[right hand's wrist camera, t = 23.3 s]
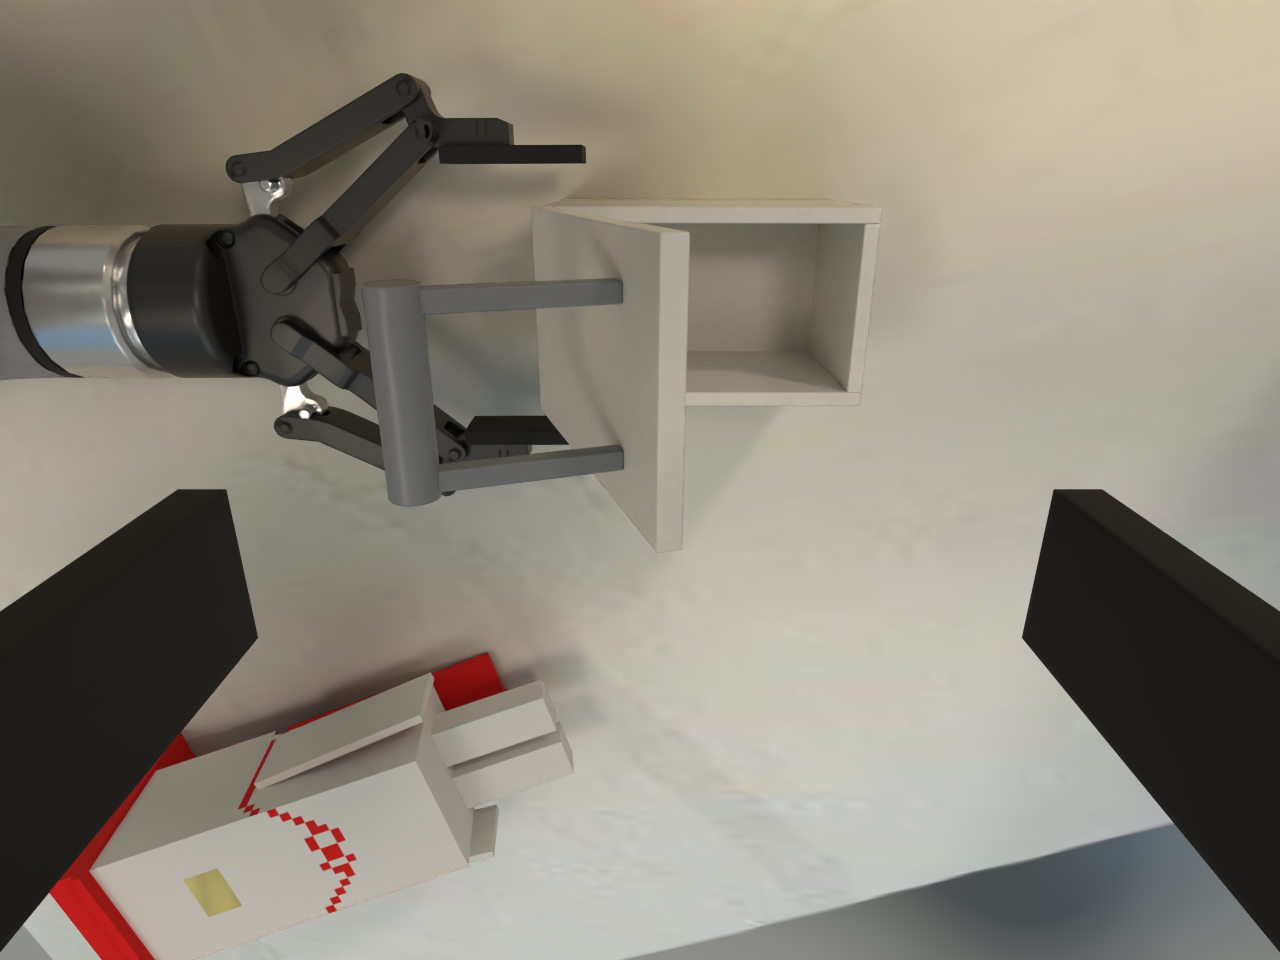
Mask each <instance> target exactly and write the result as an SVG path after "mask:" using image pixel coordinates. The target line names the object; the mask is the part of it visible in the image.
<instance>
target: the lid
mask: <svg viewBox="0 0 1280 960" xmlns="http://www.w3.org/2000/svg"><path fill="white" fill-rule="evenodd" d="M531 213H532V234H533V256H534V277H535V281H530V282H506V283H482V284H459V285H435V286H421V283H420V282H419V281H415V280H378V281H370V282H366V283H363V284H362V286H361V288H362V296H363V304H364V311H365V319H366V327H367V335H368V342H369V350H370V358H371V366H372V374H373V381H374V389H375V397H376V405H377V412H378V420H379V428H380V436H381V444H382V451H383V459H384V467H385V475H386V482H387V490H388V498H389V500H390V502H391V503H393V504H395V505H399V506H420V505H425V504H428V503H431V502H434V501H436V500H438V499H439V498H440V497H441V495H442V492H447V491H456V490H464V489H472V488H480V487H488V486H497V485H505V484H513V483H521V482H529V481H537V480H546V479H554V478H562V477H570V476H578V475H586V474H594V476H595V477H596V478H597V479H598V481H599V482H600V483H601V484H602V486H603V487H604V488H605V489H606V491H607V492H608V493H609V494H610V495H611V497H612V498H613V499H614V500H615V502H616V503H617V504H618V505H619V507H620V508H621V509H622V510H623V512H624V513H625V514H626V515H627V517H628V518H629V519H630V520H631V522H632V523H633V524H634V525H635V527H636V528H637V529H638V530H639V532H640V533H641V534H642V535H643V536H644V538H645V539H646V540H647V541H648V543H649V544H650V545H651V546H652V548H653V549H654V550H655V551H656V553H663V552H669V551H675V550H681V549H682V529H683V489H684V448H685V408H686V368H687V328H688V288H689V248H690V233H689V232H687V231H682V230H676V229H670V228H665V227H659V226H654V225H648V224H642V223H637V222H631V221H626V220H620V219H614V218H609V217H603V216H598V215H592V214H586V213H581V212H575V211H570V210H564V209H558V208H553V207H532V208H531ZM521 309H536V319H537V340H538V362H539V383H540V404H541V410H542V411H543V412H544V414H545V415H546V416H547V417H548V418H549V420H550V421H551V422H552V423H553V425H554V426H555V427H556V428H557V430H558V431H559V432H560V433H561V435H562V436H563V437H564V438H565V440H566V441H567V442H568V443H569V445H570V446H571V447H572V448H573V450H564V451H555V452H546V453H537V454H528V455H519V456H510V457H501V458H492V459H483V460H474V461H465V462H456V463H447V464H439V457H438V447H437V437H436V427H435V417H434V407H433V397H432V387H431V377H430V367H429V357H428V347H427V337H426V327H425V317H424V315H426V314H445V313H464V312H483V311H502V310H521Z"/></svg>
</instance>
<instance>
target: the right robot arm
mask: <svg viewBox="0 0 1280 960" xmlns="http://www.w3.org/2000/svg"><path fill="white" fill-rule="evenodd" d="M257 638H258V635H257V631H256V626H255V621H254V617H253V612H252V607H251V603H250V598H249V593H248V589H247V584H246V579H245V575H244V570H243V565H242V561H241V556H240V551H239V547H238V542H237V537H236V533H235V528H234V523H233V519H232V514H231V509H230V505H229V500H228V495H227V491H226V489H178V490H176V491H175V492H173V493H172V494H171V495H169V496H168V497H166V498H165V499H163V500H162V501H160V502H159V503H157V504H156V505H155V506H153V507H152V508H150V509H149V510H147V511H146V512H144V513H143V514H141V515H140V516H139V517H137V518H136V519H134V520H133V521H131V522H130V523H128V524H127V525H125V526H124V527H123V528H121V529H120V530H118V531H117V532H115V533H114V534H112V535H111V536H109V537H108V538H107V539H105V540H104V541H102V542H101V543H99V544H98V545H96V546H95V547H93V548H92V549H91V550H89V551H88V552H86V553H85V554H83V555H82V556H80V557H79V558H77V559H76V560H75V561H73V562H72V563H70V564H69V565H67V566H66V567H64V568H63V569H61V570H60V571H59V572H57V573H56V574H54V575H53V576H51V577H50V578H48V579H47V580H45V581H44V582H42V583H41V584H40V585H38V586H37V587H35V588H34V589H32V590H31V591H29V592H28V593H26V594H25V595H24V596H22V597H21V598H19V599H18V600H16V601H15V602H13V603H12V604H10V605H9V606H8V607H6V608H5V609H3V610H2V611H0V952H1V951H2V949H3V948H4V947H5V946H6V945H7V943H8V942H9V941H10V940H11V938H12V937H13V936H14V935H15V934H16V932H17V931H18V930H19V929H20V927H21V926H22V925H23V924H24V923H25V921H26V920H27V919H28V918H29V916H30V915H31V914H32V913H33V912H34V910H35V909H36V908H37V907H38V905H39V904H40V903H41V902H42V901H43V899H44V898H45V897H46V896H47V895H48V893H49V892H50V891H51V890H52V888H53V887H54V886H55V885H56V884H57V882H58V881H59V880H60V879H61V877H62V876H63V875H64V874H65V873H66V871H67V870H68V869H69V868H70V866H71V865H72V864H73V863H74V862H75V860H76V859H77V858H78V857H79V855H80V854H81V853H82V852H83V851H84V849H85V848H86V847H87V846H88V845H89V843H90V842H91V841H92V840H93V838H94V837H95V836H96V835H97V834H98V832H99V831H100V830H101V829H102V827H103V826H104V825H105V824H106V823H107V821H108V820H109V819H110V818H111V816H112V815H113V814H114V813H115V812H116V810H117V809H118V808H119V807H120V806H121V804H122V803H123V802H124V801H125V799H126V798H127V797H128V796H129V795H130V793H131V792H132V791H133V790H134V788H135V787H136V786H137V785H138V784H139V782H140V781H141V780H142V779H143V777H144V776H145V775H146V774H147V773H148V771H149V770H150V769H151V768H152V766H153V765H154V764H155V763H156V762H157V760H158V759H159V758H160V757H161V756H162V754H163V753H164V752H165V751H166V749H167V748H168V747H169V746H170V745H171V743H172V742H173V741H174V740H175V738H176V737H177V736H178V735H179V734H180V732H181V731H182V730H183V729H184V727H185V726H186V725H187V724H188V723H189V721H190V720H191V719H192V718H193V716H194V715H195V714H196V713H197V712H198V710H199V709H200V708H201V707H202V706H203V704H204V703H205V702H206V701H207V699H208V698H209V697H210V696H211V695H212V693H213V692H214V691H215V690H216V688H217V687H218V686H219V685H220V684H221V682H222V681H223V680H224V679H225V677H226V676H227V675H228V674H229V673H230V671H231V670H232V669H233V668H234V666H235V665H236V664H237V663H238V662H239V660H240V659H241V658H242V657H243V656H244V654H245V653H246V652H247V651H248V649H249V648H250V647H251V646H252V645H253V643H254V642H255V641H256V640H257ZM1022 638H1023V640H1024V641H1025V642H1026V643H1027V645H1028V646H1029V647H1030V648H1031V649H1032V651H1033V652H1034V653H1035V654H1036V656H1037V657H1038V658H1039V659H1040V660H1041V662H1042V663H1043V664H1044V665H1045V666H1046V668H1047V669H1048V670H1049V671H1050V673H1051V674H1052V675H1053V676H1054V677H1055V679H1056V680H1057V681H1058V682H1059V684H1060V685H1061V686H1062V687H1063V688H1064V690H1065V691H1066V692H1067V693H1068V695H1069V696H1070V697H1071V698H1072V699H1073V701H1074V702H1075V703H1076V704H1077V706H1078V707H1079V708H1080V709H1081V710H1082V712H1083V713H1084V714H1085V715H1086V716H1087V718H1088V719H1089V720H1090V721H1091V723H1092V724H1093V725H1094V726H1095V727H1096V729H1097V730H1098V731H1099V732H1100V734H1101V735H1102V736H1103V737H1104V738H1105V740H1106V741H1107V742H1108V743H1109V745H1110V746H1111V747H1112V748H1113V749H1114V751H1115V752H1116V753H1117V754H1118V756H1119V757H1120V758H1121V759H1122V760H1123V762H1124V763H1125V764H1126V765H1127V766H1128V768H1129V769H1130V770H1131V771H1132V773H1133V774H1134V775H1135V776H1136V777H1137V779H1138V780H1139V781H1140V782H1141V784H1142V785H1143V786H1144V787H1145V788H1146V790H1147V791H1148V792H1149V793H1150V795H1151V796H1152V797H1153V798H1154V799H1155V801H1156V802H1157V803H1158V804H1159V806H1160V807H1161V808H1162V809H1163V810H1164V812H1165V813H1166V814H1167V815H1168V816H1169V818H1170V819H1171V820H1172V821H1173V823H1174V824H1175V825H1176V826H1177V827H1178V829H1179V830H1180V831H1181V832H1182V834H1183V835H1184V836H1185V837H1186V838H1187V840H1188V841H1189V842H1190V843H1191V845H1192V846H1193V847H1194V848H1195V849H1196V851H1197V852H1198V853H1199V854H1200V856H1201V857H1202V858H1203V859H1204V860H1205V862H1206V863H1207V864H1208V865H1209V866H1210V868H1211V869H1212V870H1213V871H1214V873H1215V874H1216V875H1217V876H1218V877H1219V879H1220V880H1221V881H1222V882H1223V884H1224V885H1225V886H1226V887H1227V888H1228V890H1229V891H1230V892H1231V893H1232V894H1233V896H1234V897H1235V898H1236V899H1237V901H1238V902H1239V903H1240V904H1241V905H1242V907H1243V908H1244V909H1245V910H1246V912H1247V913H1248V914H1249V915H1250V916H1251V918H1252V919H1253V920H1254V921H1255V923H1256V924H1257V925H1258V926H1259V927H1260V929H1261V930H1262V931H1263V932H1264V934H1265V935H1266V936H1267V937H1268V938H1269V940H1270V941H1271V942H1272V943H1273V945H1274V946H1275V947H1276V948H1277V949H1278V951H1279V952H1280V611H1278V610H1277V609H1275V608H1274V607H1272V606H1271V605H1270V604H1268V603H1267V602H1265V601H1264V600H1262V599H1261V598H1259V597H1258V596H1256V595H1255V594H1254V593H1252V592H1251V591H1249V590H1248V589H1246V588H1245V587H1243V586H1242V585H1240V584H1239V583H1238V582H1236V581H1235V580H1233V579H1232V578H1230V577H1229V576H1227V575H1226V574H1224V573H1223V572H1221V571H1220V570H1219V569H1217V568H1216V567H1214V566H1213V565H1211V564H1210V563H1208V562H1207V561H1205V560H1204V559H1203V558H1201V557H1200V556H1198V555H1197V554H1195V553H1194V552H1192V551H1191V550H1189V549H1188V548H1187V547H1185V546H1184V545H1182V544H1181V543H1179V542H1178V541H1176V540H1175V539H1173V538H1172V537H1171V536H1169V535H1168V534H1166V533H1165V532H1163V531H1162V530H1160V529H1159V528H1157V527H1156V526H1155V525H1153V524H1152V523H1150V522H1149V521H1147V520H1146V519H1144V518H1143V517H1141V516H1140V515H1139V514H1137V513H1136V512H1134V511H1133V510H1131V509H1130V508H1128V507H1127V506H1125V505H1124V504H1123V503H1121V502H1120V501H1118V500H1117V499H1115V498H1114V497H1112V496H1111V495H1109V494H1108V493H1107V492H1105V491H1104V490H1102V489H1054V491H1053V495H1052V500H1051V505H1050V509H1049V514H1048V519H1047V523H1046V528H1045V533H1044V537H1043V542H1042V547H1041V551H1040V556H1039V561H1038V565H1037V570H1036V575H1035V579H1034V584H1033V589H1032V593H1031V598H1030V603H1029V607H1028V612H1027V617H1026V621H1025V626H1024V631H1023V635H1022Z"/></svg>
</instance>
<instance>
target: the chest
mask: <svg viewBox="0 0 1280 960" xmlns="http://www.w3.org/2000/svg"><path fill="white" fill-rule="evenodd" d="M543 207H553V208H558V209H564V210H570V211H575V212H581V213H586V214H592V215H598V216H603V217H609V218H614V219H620V220H626V221H631V222H637V223H642V224H648V225H654V226H659V227H665V228H670V229H676V230H682V231H687V232H689V233H690V248H689V288H688V328H687V368H686V406H860V401H861V391H862V383H863V374H864V365H865V356H866V347H867V339H868V330H869V321H870V312H871V303H872V294H873V285H874V276H875V267H876V258H877V249H878V240H879V231H880V224H879V223H880V222H881V213H882V207H877V206H870V205H863V204H856V203H850V202H843V201H836V200H784V199H562V200H559V201H557V202H554V203H551V204H548V205H546V206H543Z"/></svg>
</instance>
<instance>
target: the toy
mask: <svg viewBox="0 0 1280 960" xmlns="http://www.w3.org/2000/svg"><path fill="white" fill-rule="evenodd" d="M572 773H574V769H573V756H572V750H571V748H570V745H569V743H568V740H567V738H566V736H565V733H564V731H563V728H562V726H561V723H560V722H558V723H556V715H555V709H554V706H553V704H552V701H551V699H550V696H549V694H548V692H547V689H546V687H545V684H544V682H543V679H540V680H537V681H534V682H531V683H528V684H525V685H523V686H520V687H517V688H514V689H511V690H508V691H506V690H505V688H504V686H503V684H502V682H501V680H500V677H499V675H498V673H497V671H496V669H495V667H494V665H493V662H492V660H491V658H490V656H489V654H488V653H485V654H483V655H480V656H477V657H474V658H472V659H469V660H466V661H464V662H461V663H458V664H456V665H453V666H450V667H448V668H445V669H442V670H440V671H437V672H434V673H432V674H431V672H430V673H427V674H425V675H423V676H420V677H418V678H415V679H413V680H411V681H408V682H406V683H404V684H401V685H399V686H396V687H394V688H391V689H389V690H386V691H383V692H381V693H378V694H375V695H373V696H370V697H367V698H365V699H362V700H359V701H357V702H354V703H351V704H349V705H346V706H343V707H340V708H338V709H335V710H332V711H330V712H327V713H324V714H322V715H319V716H316V717H314V718H311V719H308V720H306V721H303V722H300V723H298V724H295V725H292V726H290V727H288V729H287V731H286V732H283V733H280V734H278V733H277V731H274V732H271V733H268V734H265V735H262V736H259V737H256V738H253V739H250V740H247V741H244V742H241V743H238V744H235V745H232V746H229V747H226V748H223V749H220V750H217V751H214V752H211V753H208V754H205V755H202V756H199V757H195V755H194V754H193V752H192V751H191V749H190V747H189V746H188V744H187V743H186V741H185V739H184V738H183V736H182V735H181V733H180V734H179V735H178V736H177V737H176V738H175V740H174V741H173V742H172V743H171V745H170V746H169V747H168V748H167V749H166V751H165V752H164V753H163V754H162V756H161V757H160V758H159V759H158V760H157V762H156V763H155V764H154V765H153V766H152V768H151V769H150V770H149V771H148V773H147V774H146V775H145V776H144V777H143V779H142V780H141V781H140V782H139V784H138V785H137V786H136V787H135V788H134V790H133V791H132V792H131V793H130V795H129V796H128V797H127V798H126V799H125V801H124V802H123V803H122V804H121V806H120V807H119V808H118V809H117V810H116V812H115V813H114V814H113V815H112V816H111V818H110V819H109V820H108V821H107V823H106V824H105V825H104V826H103V827H102V829H101V830H100V831H99V832H98V834H97V835H96V836H95V837H94V838H93V840H92V841H91V842H90V843H89V845H88V846H87V847H86V848H85V849H84V851H83V852H82V853H81V854H80V855H79V857H78V858H77V859H76V860H75V862H74V863H73V864H72V865H71V866H70V868H69V869H68V870H67V871H66V873H65V874H64V875H63V876H62V877H61V879H60V880H59V881H58V882H57V884H56V885H55V886H54V887H53V888H52V890H51V891H50V892H49V893H50V894H51V895H52V897H53V898H54V899H55V901H56V902H57V903H58V904H59V906H60V907H61V908H62V910H63V911H64V912H65V913H66V915H67V916H68V917H69V918H70V920H71V921H72V922H73V924H74V925H75V926H76V927H77V929H78V930H79V931H80V933H81V934H82V935H83V936H84V938H85V939H86V940H87V942H88V943H89V944H90V945H91V947H92V948H93V949H94V950H95V952H96V953H97V954H98V956H99V957H100V958H101V959H102V960H194V959H197V958H199V957H202V956H205V955H208V954H211V953H214V952H217V951H220V950H223V949H226V948H229V947H232V946H235V945H238V944H241V943H244V942H246V941H249V940H252V939H255V938H258V937H261V936H264V935H267V934H270V933H273V932H276V931H279V930H282V929H285V928H288V927H291V926H293V925H296V924H299V923H302V922H305V921H308V920H311V919H314V918H317V917H320V916H323V915H326V914H329V913H332V912H335V911H338V910H340V909H343V908H346V907H349V906H352V905H355V904H358V903H361V902H364V901H367V900H370V899H373V898H376V897H379V896H382V895H385V894H387V893H390V892H393V891H396V890H399V889H402V888H405V887H408V886H411V885H414V884H417V883H420V882H423V881H426V880H429V879H432V878H435V877H437V876H440V875H443V874H446V873H449V872H452V871H455V870H458V869H461V868H464V867H467V866H468V865H469V864H470V863H474V862H478V861H482V860H486V859H490V858H494V852H495V842H496V832H497V822H498V812H499V810H498V807H497V805H493V806H489V807H485V808H481V809H477V810H474V807H475V806H478V805H480V804H483V803H486V802H489V801H492V800H495V799H498V798H501V797H504V796H507V795H510V794H513V793H516V792H519V791H522V790H525V789H528V788H531V787H534V786H537V785H540V784H543V783H546V782H548V781H551V780H554V779H557V778H560V777H563V776H566V775H569V774H572Z"/></svg>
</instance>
